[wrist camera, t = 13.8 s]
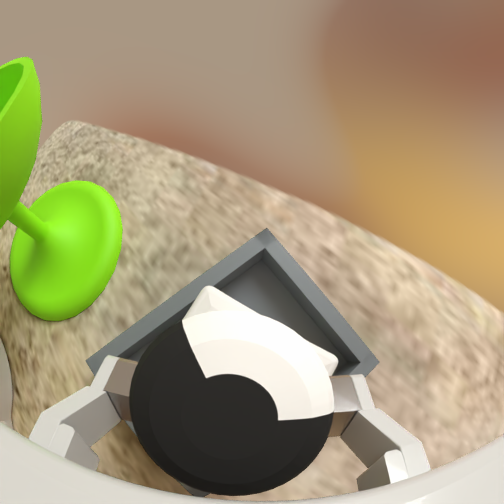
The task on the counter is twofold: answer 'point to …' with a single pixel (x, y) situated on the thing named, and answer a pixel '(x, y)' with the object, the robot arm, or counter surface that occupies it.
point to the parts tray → (254, 309)
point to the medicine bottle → (232, 399)
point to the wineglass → (50, 213)
